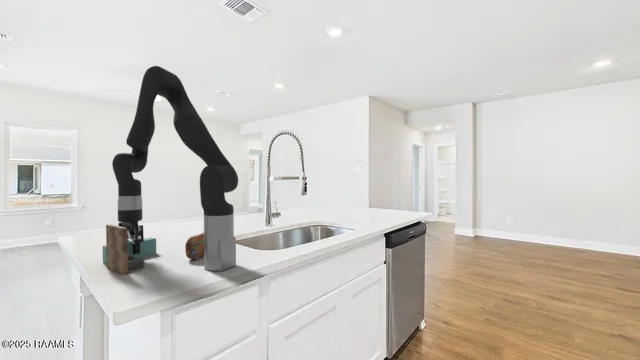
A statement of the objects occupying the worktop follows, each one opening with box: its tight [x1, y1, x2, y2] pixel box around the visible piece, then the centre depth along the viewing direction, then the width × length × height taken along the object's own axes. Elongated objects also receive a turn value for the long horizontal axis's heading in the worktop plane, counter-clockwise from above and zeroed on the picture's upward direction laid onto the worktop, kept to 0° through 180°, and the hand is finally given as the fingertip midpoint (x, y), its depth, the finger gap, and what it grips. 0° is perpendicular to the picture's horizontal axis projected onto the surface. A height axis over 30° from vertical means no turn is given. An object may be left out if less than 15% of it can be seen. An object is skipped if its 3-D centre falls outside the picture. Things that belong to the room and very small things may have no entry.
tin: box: [185, 232, 204, 261], centre depth 106 cm, size 15×3×8 cm, turn 168°
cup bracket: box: [105, 223, 145, 276], centre depth 92 cm, size 12×7×14 cm, turn 57°
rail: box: [102, 237, 157, 265], centre depth 104 cm, size 4×16×6 cm, turn 147°
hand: (130, 252), depth 104 cm, fingers open, 8 cm apart
